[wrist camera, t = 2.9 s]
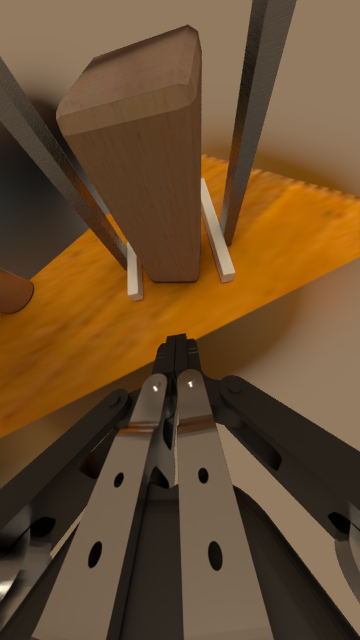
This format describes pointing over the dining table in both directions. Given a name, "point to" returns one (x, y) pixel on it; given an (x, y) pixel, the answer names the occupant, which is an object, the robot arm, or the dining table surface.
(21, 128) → the arch
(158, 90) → the wooden block
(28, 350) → the dining table surface
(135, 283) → the walled lane
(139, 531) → the robot arm
